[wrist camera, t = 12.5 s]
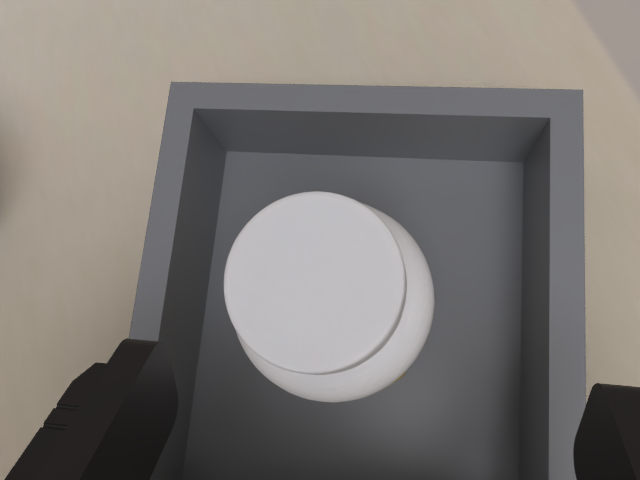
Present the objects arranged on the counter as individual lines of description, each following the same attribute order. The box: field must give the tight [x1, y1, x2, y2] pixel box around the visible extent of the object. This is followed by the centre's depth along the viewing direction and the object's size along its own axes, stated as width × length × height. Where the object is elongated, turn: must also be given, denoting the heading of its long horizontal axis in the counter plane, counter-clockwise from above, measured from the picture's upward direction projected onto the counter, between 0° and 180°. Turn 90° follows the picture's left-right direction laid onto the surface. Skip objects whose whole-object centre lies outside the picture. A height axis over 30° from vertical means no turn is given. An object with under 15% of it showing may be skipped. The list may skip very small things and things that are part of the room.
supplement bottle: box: [224, 191, 435, 403], centre depth 17 cm, size 5×5×10 cm
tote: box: [129, 82, 586, 480], centre depth 20 cm, size 14×15×5 cm
